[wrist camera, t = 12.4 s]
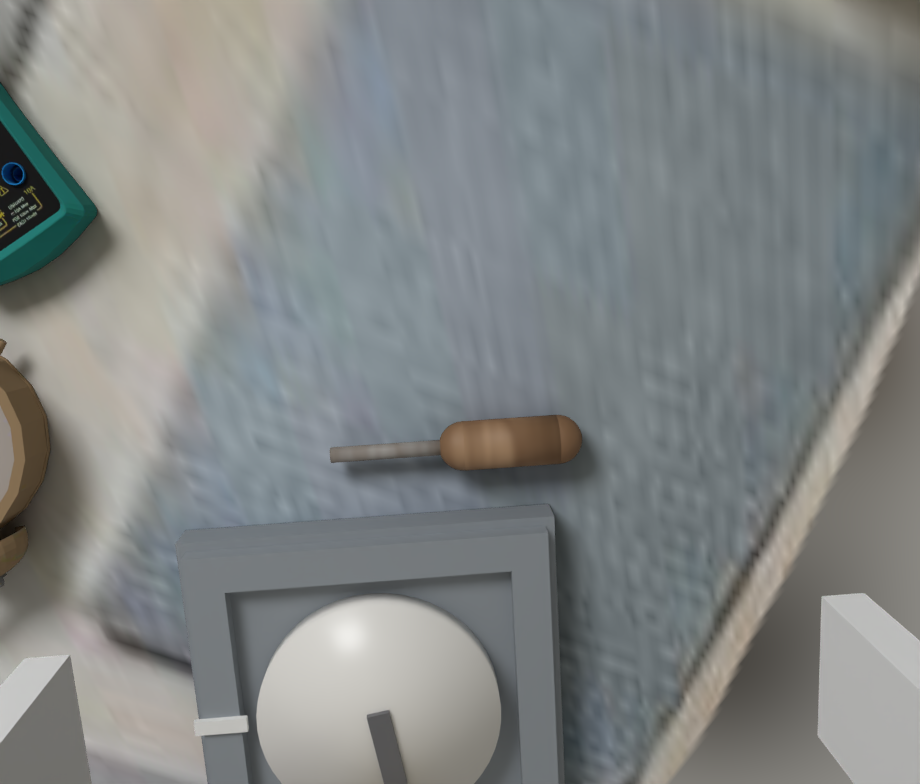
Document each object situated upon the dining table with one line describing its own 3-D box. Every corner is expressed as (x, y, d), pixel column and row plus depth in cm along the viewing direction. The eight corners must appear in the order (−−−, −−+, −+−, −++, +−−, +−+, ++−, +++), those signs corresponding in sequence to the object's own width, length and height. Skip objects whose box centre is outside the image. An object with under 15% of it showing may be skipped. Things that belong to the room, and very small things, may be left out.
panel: (548, 503, 48) (558, 525, 45) (561, 819, 52) (571, 859, 49) (185, 530, 47) (168, 553, 44) (227, 847, 51) (214, 890, 48)
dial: (234, 622, 46) (184, 732, 36) (471, 569, 46) (486, 666, 36) (294, 828, 49) (263, 983, 39) (519, 779, 49) (544, 921, 39)
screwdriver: (576, 408, 47) (585, 419, 44) (578, 454, 47) (587, 468, 45) (331, 425, 47) (326, 437, 44) (335, 471, 47) (330, 486, 45)
